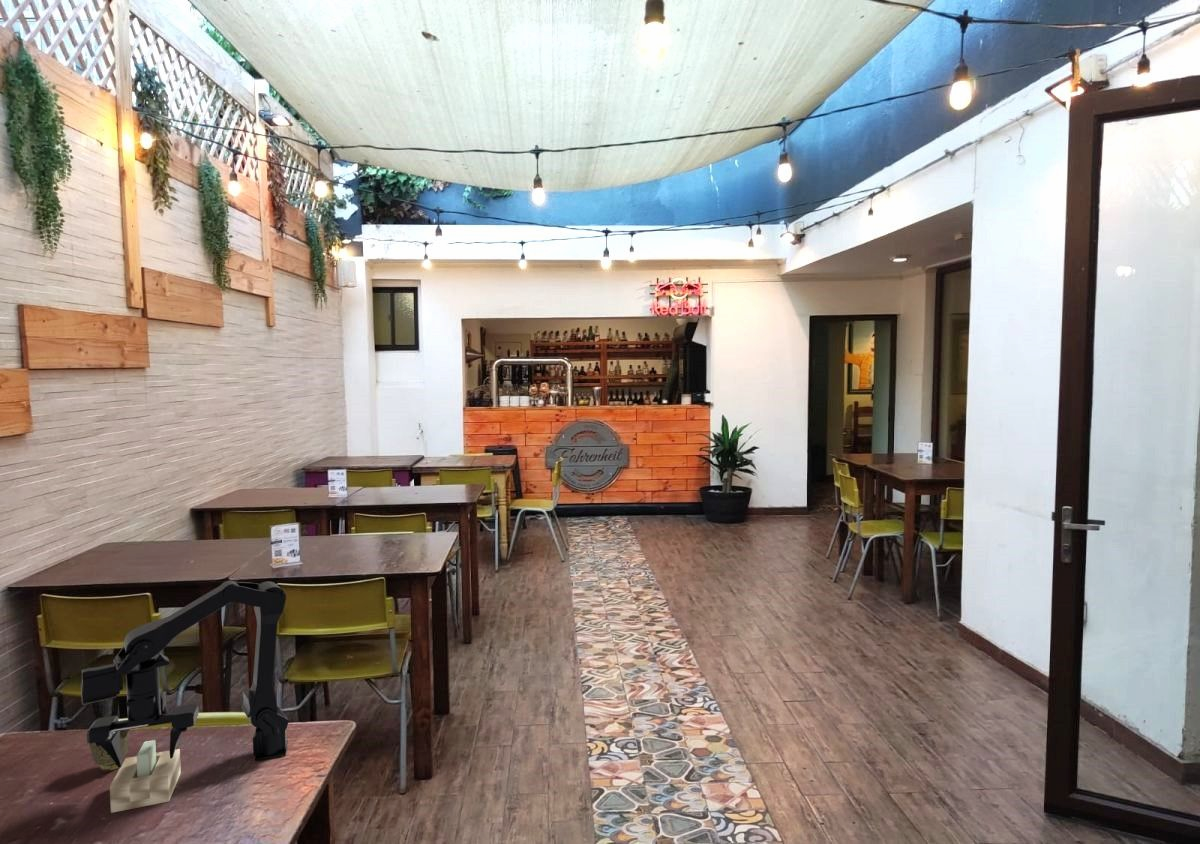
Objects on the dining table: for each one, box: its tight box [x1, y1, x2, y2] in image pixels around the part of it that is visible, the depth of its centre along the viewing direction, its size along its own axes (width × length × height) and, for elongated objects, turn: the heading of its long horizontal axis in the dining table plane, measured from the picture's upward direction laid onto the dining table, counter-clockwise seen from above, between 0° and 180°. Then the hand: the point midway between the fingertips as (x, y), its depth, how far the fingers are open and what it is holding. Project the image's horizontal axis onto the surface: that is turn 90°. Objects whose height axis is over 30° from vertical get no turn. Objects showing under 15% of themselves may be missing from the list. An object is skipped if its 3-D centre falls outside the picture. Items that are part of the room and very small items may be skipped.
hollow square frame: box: [109, 748, 182, 814], centre depth 141 cm, size 10×11×6 cm
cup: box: [89, 729, 131, 772], centre depth 150 cm, size 8×7×8 cm
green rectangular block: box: [136, 739, 157, 777], centre depth 141 cm, size 2×6×8 cm, turn 21°
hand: (146, 761), depth 141 cm, fingers open, 9 cm apart
